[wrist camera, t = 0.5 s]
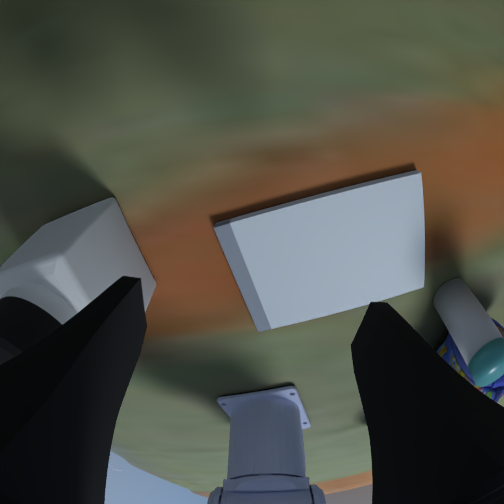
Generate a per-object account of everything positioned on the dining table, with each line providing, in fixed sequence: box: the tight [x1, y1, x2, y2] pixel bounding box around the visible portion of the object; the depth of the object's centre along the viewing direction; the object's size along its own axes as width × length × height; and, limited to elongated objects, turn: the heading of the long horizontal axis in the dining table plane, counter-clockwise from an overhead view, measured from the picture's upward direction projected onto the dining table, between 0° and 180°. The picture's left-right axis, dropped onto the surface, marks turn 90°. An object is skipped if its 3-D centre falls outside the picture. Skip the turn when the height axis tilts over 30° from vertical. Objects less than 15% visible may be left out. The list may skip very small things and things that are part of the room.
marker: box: [433, 278, 504, 387], centre depth 18 cm, size 4×4×8 cm
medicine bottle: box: [0, 197, 156, 365], centre depth 15 cm, size 7×7×12 cm
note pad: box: [214, 170, 425, 332], centre depth 20 cm, size 9×13×1 cm
